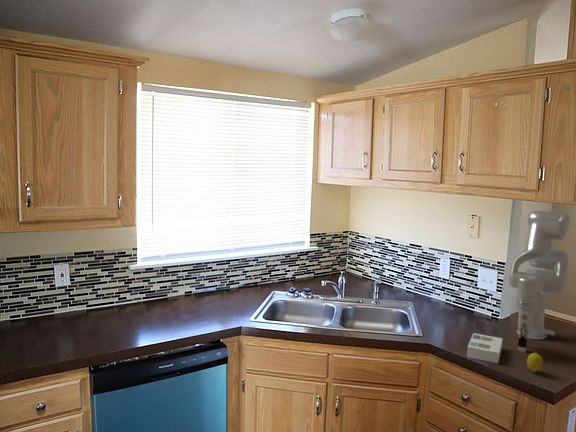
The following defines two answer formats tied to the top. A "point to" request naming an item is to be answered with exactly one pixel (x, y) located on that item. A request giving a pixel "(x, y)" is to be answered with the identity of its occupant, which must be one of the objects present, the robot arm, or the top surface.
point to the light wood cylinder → (522, 347)
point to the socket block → (484, 348)
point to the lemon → (535, 362)
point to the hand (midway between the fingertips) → (522, 343)
